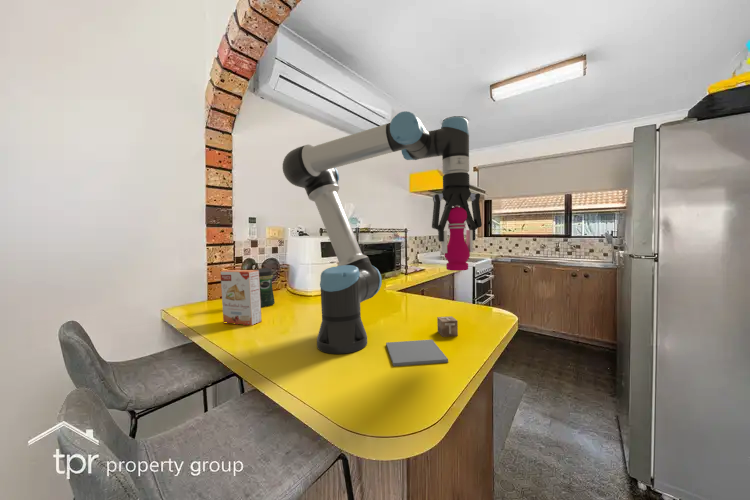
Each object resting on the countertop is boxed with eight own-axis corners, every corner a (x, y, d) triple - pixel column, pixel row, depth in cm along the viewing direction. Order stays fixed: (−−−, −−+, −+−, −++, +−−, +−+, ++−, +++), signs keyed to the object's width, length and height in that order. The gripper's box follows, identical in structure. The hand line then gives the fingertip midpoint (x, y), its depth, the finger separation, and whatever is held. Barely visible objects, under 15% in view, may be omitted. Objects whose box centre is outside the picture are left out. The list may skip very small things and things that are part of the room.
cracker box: (222, 324, 113) (219, 271, 112) (234, 319, 118) (231, 269, 117) (251, 326, 108) (248, 271, 107) (262, 321, 114) (259, 269, 113)
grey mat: (393, 366, 71) (393, 363, 71) (386, 345, 85) (386, 342, 85) (448, 362, 73) (448, 359, 73) (432, 342, 86) (432, 339, 86)
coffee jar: (271, 302, 148) (269, 266, 147) (276, 305, 142) (274, 268, 141) (251, 305, 143) (249, 268, 142) (255, 308, 136) (253, 269, 135)
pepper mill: (471, 270, 81) (470, 199, 80) (445, 270, 82) (444, 200, 82) (468, 267, 88) (467, 202, 87) (444, 268, 90) (443, 203, 89)
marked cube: (442, 337, 91) (442, 321, 90) (437, 331, 96) (437, 316, 96) (457, 336, 91) (457, 320, 91) (452, 331, 96) (451, 315, 96)
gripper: (425, 171, 79) (427, 254, 80) (494, 170, 81) (495, 251, 82) (419, 177, 87) (420, 252, 88) (482, 176, 89) (483, 250, 90)
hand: (457, 252), depth 85 cm, fingers closed on pepper mill, 7 cm apart
